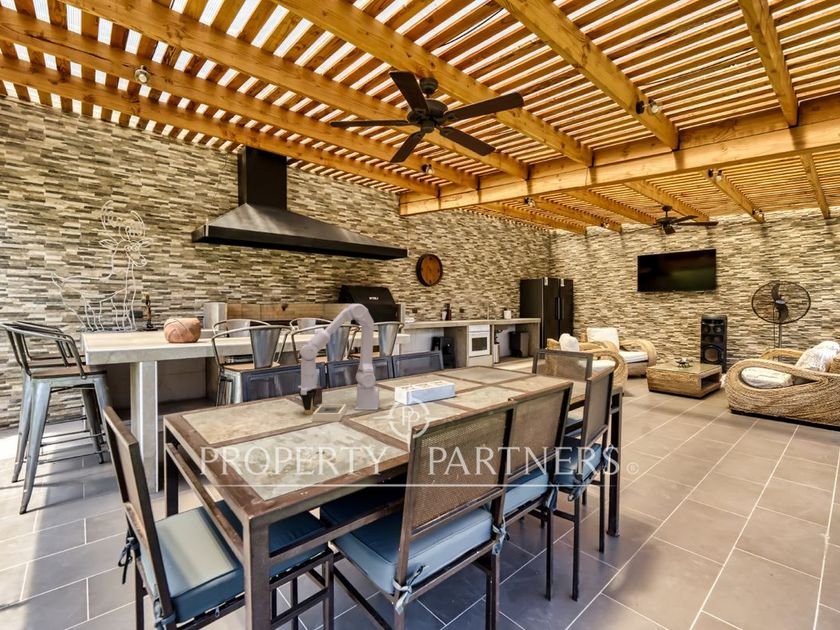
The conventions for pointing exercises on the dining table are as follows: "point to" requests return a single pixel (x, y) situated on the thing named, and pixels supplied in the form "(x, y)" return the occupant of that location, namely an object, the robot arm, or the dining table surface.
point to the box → (318, 396)
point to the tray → (329, 414)
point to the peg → (310, 409)
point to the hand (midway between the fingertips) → (308, 408)
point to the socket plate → (329, 410)
